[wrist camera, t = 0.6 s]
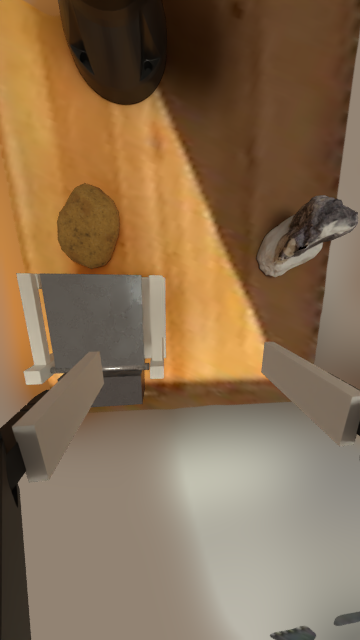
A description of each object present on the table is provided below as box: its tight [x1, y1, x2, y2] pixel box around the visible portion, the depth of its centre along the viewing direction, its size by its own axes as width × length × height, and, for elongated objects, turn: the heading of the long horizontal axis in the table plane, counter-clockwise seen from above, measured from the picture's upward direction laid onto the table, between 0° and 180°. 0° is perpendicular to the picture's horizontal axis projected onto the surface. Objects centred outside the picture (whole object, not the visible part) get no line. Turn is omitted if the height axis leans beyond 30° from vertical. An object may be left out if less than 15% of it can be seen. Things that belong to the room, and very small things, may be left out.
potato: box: [57, 183, 120, 269], centre depth 29 cm, size 9×13×7 cm
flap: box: [40, 274, 149, 407], centre depth 26 cm, size 20×14×4 cm
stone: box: [256, 195, 358, 277], centre depth 32 cm, size 14×10×15 cm
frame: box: [17, 273, 166, 385], centre depth 30 cm, size 18×20×14 cm
